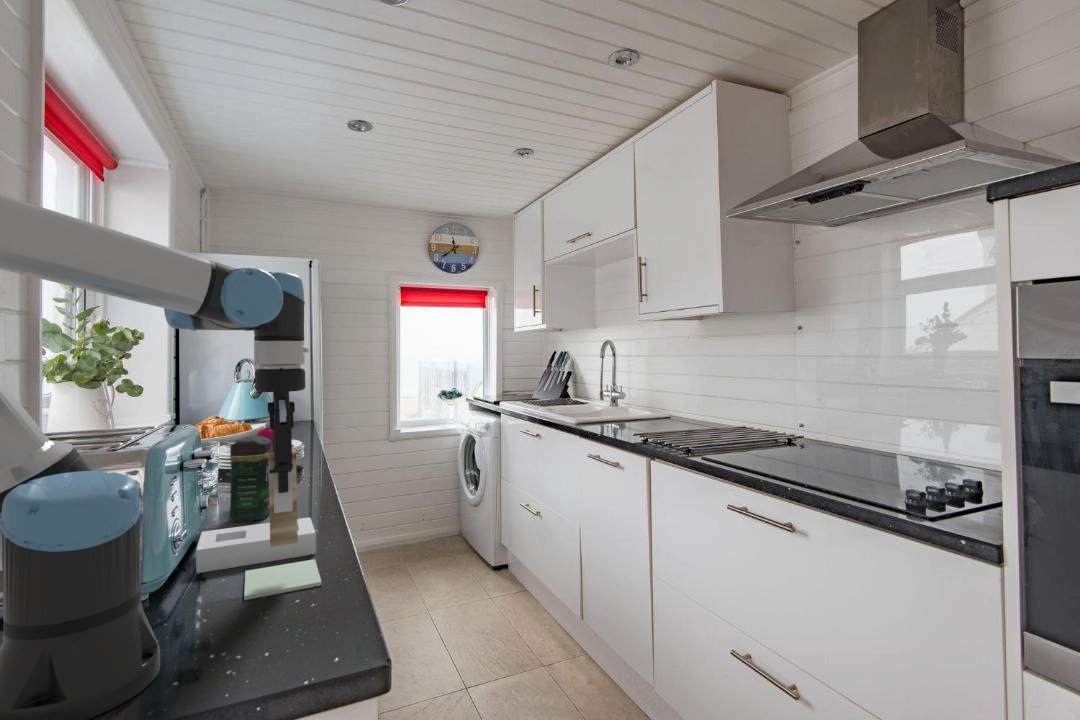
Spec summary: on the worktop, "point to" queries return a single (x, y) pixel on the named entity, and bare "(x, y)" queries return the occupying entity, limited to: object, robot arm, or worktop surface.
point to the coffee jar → (250, 479)
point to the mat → (281, 579)
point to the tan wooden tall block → (284, 522)
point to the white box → (250, 546)
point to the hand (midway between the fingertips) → (282, 507)
